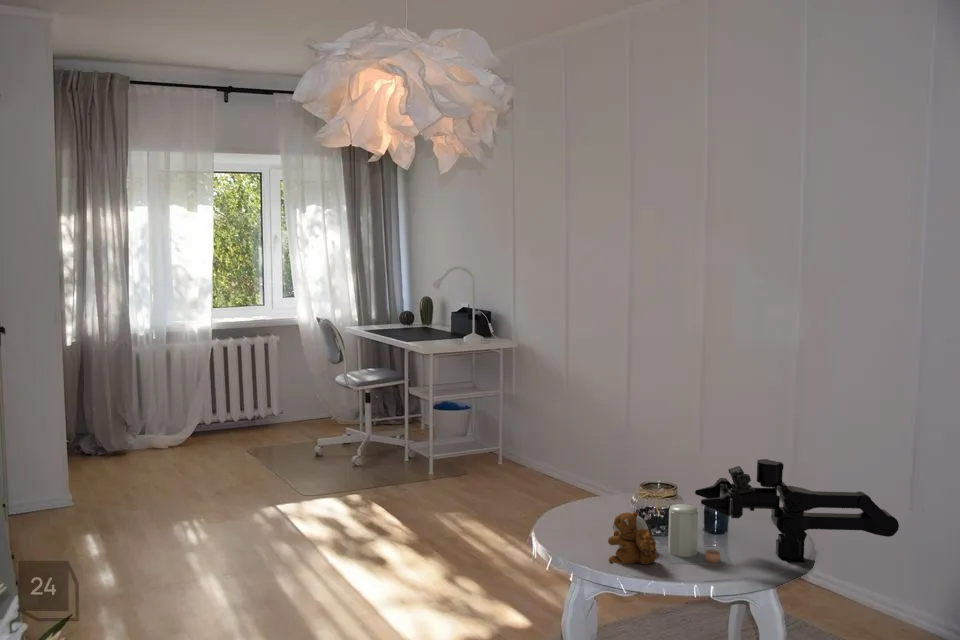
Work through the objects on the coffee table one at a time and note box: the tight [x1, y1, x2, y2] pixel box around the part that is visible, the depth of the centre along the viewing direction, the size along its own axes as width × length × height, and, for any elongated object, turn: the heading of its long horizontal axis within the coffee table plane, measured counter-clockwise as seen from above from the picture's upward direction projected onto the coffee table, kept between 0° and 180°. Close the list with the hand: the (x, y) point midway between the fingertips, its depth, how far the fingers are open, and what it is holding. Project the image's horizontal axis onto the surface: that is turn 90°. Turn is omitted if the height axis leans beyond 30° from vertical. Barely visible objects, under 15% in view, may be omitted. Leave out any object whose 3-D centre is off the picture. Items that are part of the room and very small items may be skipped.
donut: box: [612, 512, 649, 533], centre depth 254 cm, size 10×3×10 cm, turn 67°
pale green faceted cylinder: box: [667, 503, 699, 557], centre depth 249 cm, size 7×7×12 cm
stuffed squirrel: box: [607, 511, 659, 565], centre depth 243 cm, size 10×14×13 cm
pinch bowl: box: [705, 549, 720, 564], centre depth 243 cm, size 4×4×2 cm
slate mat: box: [661, 545, 734, 567], centre depth 247 cm, size 17×14×1 cm
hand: (698, 496), depth 247 cm, fingers open, 9 cm apart
